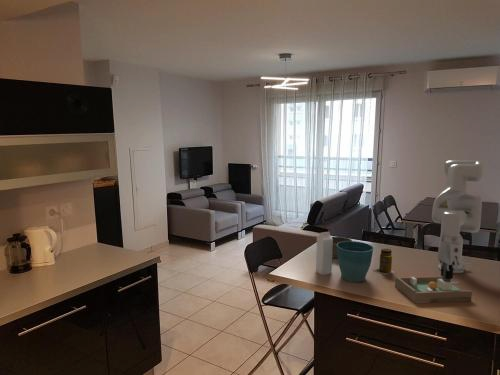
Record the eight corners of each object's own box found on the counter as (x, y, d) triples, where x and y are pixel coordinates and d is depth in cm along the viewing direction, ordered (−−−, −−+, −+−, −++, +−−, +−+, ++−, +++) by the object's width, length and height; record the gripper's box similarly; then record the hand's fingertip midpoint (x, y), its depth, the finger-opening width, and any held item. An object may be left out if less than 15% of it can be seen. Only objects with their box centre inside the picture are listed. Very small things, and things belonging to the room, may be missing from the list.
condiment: (394, 272, 194) (395, 250, 193) (384, 275, 190) (386, 253, 188) (383, 268, 200) (384, 247, 199) (373, 271, 196) (374, 249, 194)
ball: (433, 287, 169) (434, 280, 168) (438, 290, 165) (439, 283, 165) (426, 287, 169) (427, 280, 168) (431, 290, 165) (431, 283, 165)
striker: (454, 285, 171) (456, 259, 169) (461, 289, 166) (464, 263, 164) (436, 286, 170) (438, 260, 168) (443, 290, 165) (445, 263, 163)
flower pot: (379, 282, 179) (381, 249, 177) (347, 286, 174) (349, 252, 172) (358, 270, 196) (360, 239, 194) (329, 273, 191) (330, 242, 189)
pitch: (445, 284, 177) (446, 275, 177) (471, 300, 159) (472, 290, 159) (394, 286, 175) (395, 276, 174) (414, 303, 157) (415, 292, 156)
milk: (331, 273, 192) (333, 233, 189) (322, 275, 189) (323, 234, 186) (324, 269, 197) (326, 230, 194) (315, 271, 195) (317, 231, 192)
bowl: (318, 256, 219) (319, 240, 218) (330, 249, 233) (330, 234, 232) (346, 262, 209) (347, 245, 208) (356, 254, 224) (357, 238, 222)
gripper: (469, 243, 157) (466, 284, 159) (446, 233, 173) (443, 270, 175) (453, 243, 156) (449, 284, 159) (431, 234, 172) (428, 271, 174)
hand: (446, 277), depth 167 cm, fingers closed on striker, 2 cm apart
